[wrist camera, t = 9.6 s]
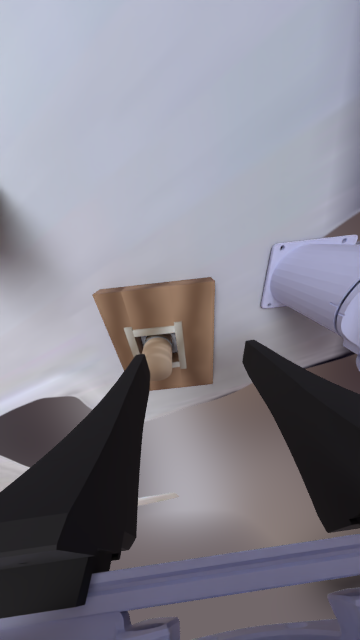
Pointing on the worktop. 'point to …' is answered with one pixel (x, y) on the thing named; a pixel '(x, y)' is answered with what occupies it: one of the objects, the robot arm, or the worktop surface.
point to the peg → (158, 355)
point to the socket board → (164, 325)
